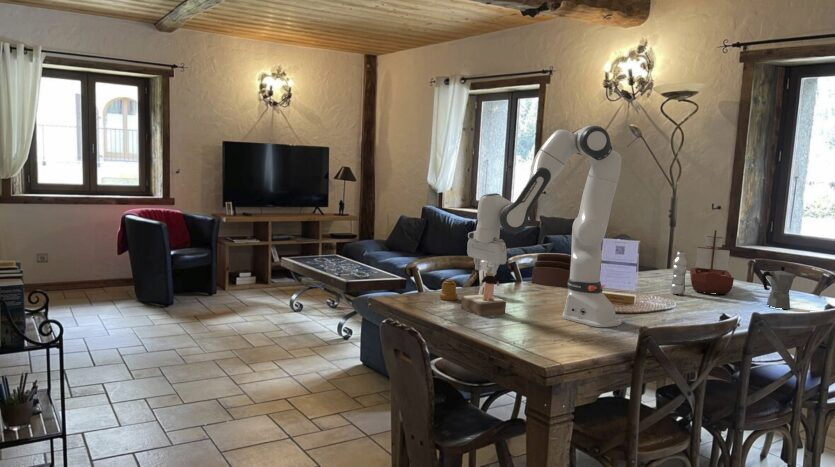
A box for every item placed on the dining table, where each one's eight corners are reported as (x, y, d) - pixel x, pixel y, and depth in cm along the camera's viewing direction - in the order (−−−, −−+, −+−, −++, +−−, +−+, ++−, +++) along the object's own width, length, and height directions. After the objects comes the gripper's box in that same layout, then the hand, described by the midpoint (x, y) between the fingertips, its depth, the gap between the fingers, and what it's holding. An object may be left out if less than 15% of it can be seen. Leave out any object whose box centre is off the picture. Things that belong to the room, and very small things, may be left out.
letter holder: (535, 280, 315) (537, 252, 313) (576, 285, 308) (579, 256, 306) (531, 283, 306) (533, 254, 304) (573, 288, 298) (575, 258, 297)
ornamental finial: (447, 301, 259) (435, 298, 265) (461, 300, 263) (449, 296, 269) (448, 282, 258) (436, 278, 264) (462, 280, 262) (450, 277, 268)
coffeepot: (786, 305, 283) (791, 265, 281) (799, 310, 274) (804, 269, 272) (752, 304, 283) (756, 263, 281) (764, 309, 273) (769, 267, 271)
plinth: (505, 313, 244) (506, 300, 243) (479, 316, 238) (480, 302, 237) (485, 306, 254) (486, 293, 253) (461, 308, 248) (461, 296, 247)
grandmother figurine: (482, 301, 240) (484, 267, 238) (477, 299, 243) (479, 265, 242) (500, 300, 243) (502, 267, 241) (495, 298, 246) (497, 265, 245)
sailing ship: (690, 294, 298) (696, 231, 295) (688, 280, 335) (694, 224, 332) (732, 299, 292) (739, 235, 288) (725, 284, 329) (731, 227, 325)
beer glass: (493, 297, 271) (495, 262, 269) (476, 295, 272) (478, 260, 271) (494, 293, 278) (496, 259, 276) (478, 292, 279) (480, 258, 277)
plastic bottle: (685, 294, 297) (690, 251, 295) (683, 296, 291) (687, 253, 289) (671, 292, 301) (675, 250, 298) (668, 294, 295) (672, 251, 292)
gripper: (512, 239, 235) (509, 276, 237) (478, 232, 252) (476, 267, 254) (498, 240, 232) (496, 277, 234) (465, 233, 249) (463, 268, 251)
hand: (485, 272), depth 244 cm, fingers open, 8 cm apart
